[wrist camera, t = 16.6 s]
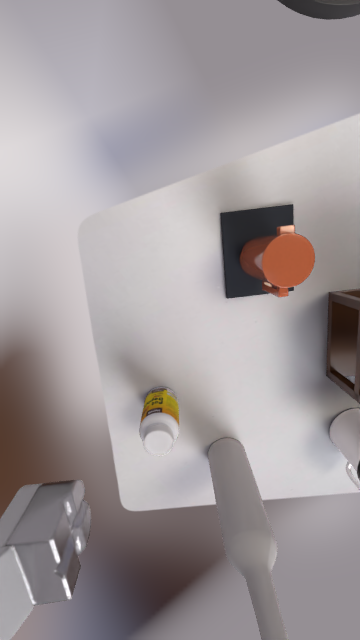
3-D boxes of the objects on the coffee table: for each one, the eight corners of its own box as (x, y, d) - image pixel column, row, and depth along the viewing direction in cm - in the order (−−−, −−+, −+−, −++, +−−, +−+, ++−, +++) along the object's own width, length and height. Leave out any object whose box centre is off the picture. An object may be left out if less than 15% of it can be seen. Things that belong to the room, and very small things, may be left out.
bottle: (226, 475, 50) (290, 749, 23) (200, 454, 48) (235, 720, 21) (252, 452, 48) (354, 712, 21) (226, 431, 47) (299, 679, 20)
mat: (220, 213, 38) (221, 212, 37) (291, 204, 38) (293, 204, 37) (226, 297, 41) (227, 298, 41) (292, 289, 41) (293, 290, 40)
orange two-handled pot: (238, 233, 38) (260, 228, 28) (279, 228, 38) (315, 222, 28) (241, 288, 40) (263, 302, 31) (280, 284, 40) (314, 296, 31)
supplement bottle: (165, 379, 44) (162, 417, 34) (184, 403, 45) (188, 447, 36) (137, 397, 45) (128, 440, 35) (158, 421, 46) (154, 468, 36)
